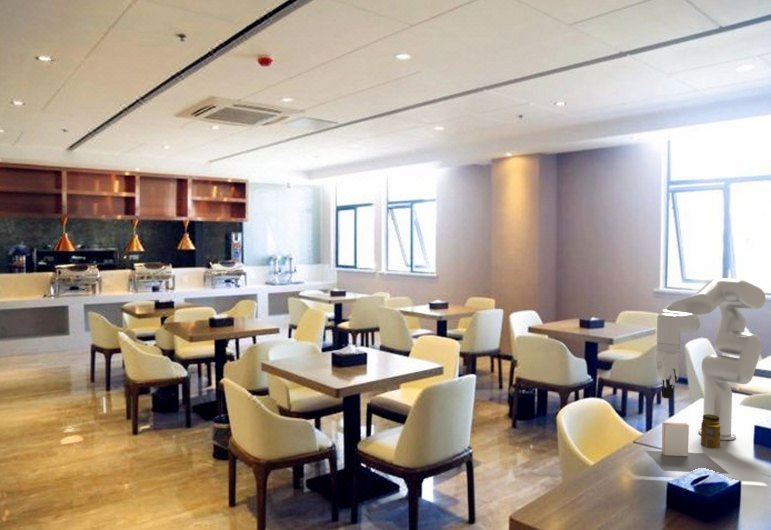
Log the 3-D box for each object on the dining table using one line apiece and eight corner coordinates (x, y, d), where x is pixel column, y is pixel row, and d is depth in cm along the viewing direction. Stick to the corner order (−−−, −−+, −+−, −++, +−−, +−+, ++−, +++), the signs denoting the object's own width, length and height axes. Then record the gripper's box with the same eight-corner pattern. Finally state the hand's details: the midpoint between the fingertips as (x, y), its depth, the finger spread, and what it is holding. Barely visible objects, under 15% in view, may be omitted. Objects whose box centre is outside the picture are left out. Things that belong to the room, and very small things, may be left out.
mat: (644, 453, 200) (645, 450, 200) (704, 455, 198) (704, 453, 198) (664, 473, 182) (664, 470, 182) (729, 476, 180) (729, 473, 180)
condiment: (724, 449, 205) (725, 417, 204) (713, 454, 200) (713, 420, 200) (704, 443, 211) (705, 412, 210) (692, 447, 206) (693, 415, 206)
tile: (661, 453, 198) (662, 422, 197) (685, 454, 197) (686, 423, 196) (664, 455, 195) (664, 424, 195) (688, 456, 194) (689, 425, 194)
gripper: (650, 343, 211) (648, 392, 211) (665, 351, 196) (664, 403, 196) (670, 344, 210) (669, 392, 210) (687, 351, 195) (686, 403, 196)
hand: (667, 397), depth 203 cm, fingers closed
